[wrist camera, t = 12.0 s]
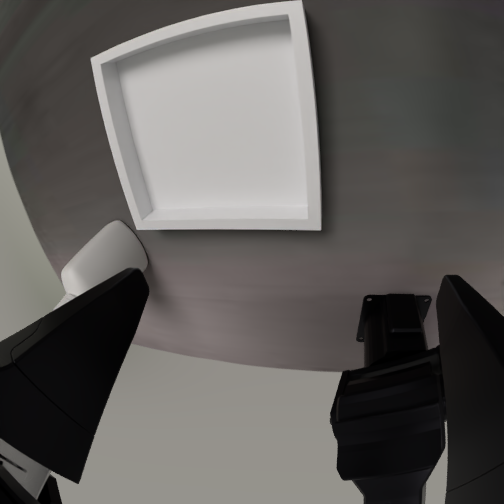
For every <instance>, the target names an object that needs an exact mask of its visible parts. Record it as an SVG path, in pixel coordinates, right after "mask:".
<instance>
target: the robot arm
mask: <svg viewBox="0 0 504 504" xmlns="http://www.w3.org/2000/svg"><path fill="white" fill-rule="evenodd" d="M148 296H149V286H148V284H147V282H146V279H145V277H144V275H143V273H142V271H141V270H140V269H139V268H133V267H129V268H126V269H125V270H123V271H121V272H119V273H117V274H116V275H114V276H112V277H110V278H109V279H107V280H105V281H103V282H101V283H100V284H98V285H96V286H94V287H93V288H91V289H89V290H87V291H86V292H84V293H82V294H81V295H79V296H77V297H75V298H74V299H72V300H70V301H69V302H67V303H65V304H64V305H62V306H60V307H59V308H57V309H55V310H54V311H52V312H50V313H49V314H47V315H45V316H44V317H42V318H40V319H39V320H37V321H36V322H34V323H32V324H31V325H29V326H27V327H26V328H24V329H22V330H20V331H19V332H17V333H15V334H13V335H12V336H10V337H8V338H6V339H4V340H3V341H1V342H0V504H62V502H61V498H60V494H59V490H58V486H57V481H56V478H54V477H53V476H52V475H51V474H50V473H51V471H53V472H55V473H57V474H59V475H61V476H63V477H65V478H67V479H69V480H71V481H73V482H75V483H77V484H79V481H80V479H81V476H82V473H83V470H84V467H85V463H86V460H87V457H88V454H89V451H90V448H91V445H92V442H93V439H94V435H95V433H96V430H97V427H98V425H99V422H100V419H101V416H102V414H103V411H104V408H105V406H106V403H107V400H108V398H109V395H110V393H111V390H112V387H113V385H114V383H115V380H116V378H117V375H118V373H119V371H120V368H121V366H122V363H123V361H124V359H125V356H126V354H127V351H128V349H129V347H130V345H131V342H132V340H133V338H134V335H135V333H136V330H137V327H138V325H139V322H140V319H141V316H142V313H143V310H144V307H145V304H146V301H147V299H148ZM368 298H371V299H372V300H371V301H367V299H368ZM425 299H429V300H428V301H427V302H425V301H424V300H425ZM431 301H432V298H431V297H430V296H415V295H414V294H387V295H367V296H365V297H364V300H363V305H362V311H361V317H360V322H359V327H358V332H357V337H356V340H357V341H358V342H364V368H360V369H356V370H351V371H350V370H346V371H343V372H342V376H341V379H340V382H339V385H338V389H337V392H336V396H335V399H334V403H333V406H332V409H331V412H330V416H331V418H330V424H331V425H332V429H333V433H334V436H335V438H336V439H337V443H338V454H337V471H338V473H339V475H340V477H341V478H342V479H343V480H352V481H353V482H354V484H355V485H356V486H357V488H358V489H359V490H360V492H361V493H362V494H363V496H364V504H425V496H426V481H427V480H428V478H429V476H430V475H431V473H432V471H433V469H434V468H435V466H436V464H437V462H438V460H439V459H440V457H441V455H442V453H443V451H444V449H445V443H446V442H445V423H444V422H446V421H447V433H448V469H447V488H446V491H447V492H446V498H445V504H504V317H503V316H502V315H501V314H500V313H499V312H498V311H497V310H496V309H495V308H494V307H493V306H492V305H491V304H490V303H489V302H488V301H487V300H486V299H485V298H483V297H482V296H481V295H480V294H479V293H478V292H477V291H476V290H475V289H474V288H472V287H471V286H470V285H469V284H468V283H467V282H466V281H464V280H463V279H462V278H461V277H460V276H458V275H445V276H444V278H443V280H442V283H441V286H440V290H439V293H438V296H437V300H436V309H437V318H438V330H439V344H440V345H438V346H437V347H436V348H433V349H430V350H428V346H427V341H426V336H425V330H424V325H423V322H424V319H425V317H426V314H427V312H428V309H429V306H430V304H431ZM361 337H362V338H363V339H359V338H361Z"/></svg>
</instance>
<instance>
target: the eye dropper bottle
mask: <svg viewBox="0 0 504 504" xmlns="http://www.w3.org/2000/svg"><path fill="white" fill-rule="evenodd" d="M147 265H148V260H147V256H146V253H145V251H144V248H143V246H142V245H141V243H140V241H139V240H138V238H137V237H136V235H135V234H134V233H133V232H132V231H131V229H130V228H129V227H128V226H127V225H126V224H124V223H123V222H122V221H120V220H117V221H113V222H111V223H109V224H107V225H106V226H105V227H104V228H103V229H102V230H101V231H99V232H98V233H97V234H96V235H95V236H94V237H93V238H92V239H91V240H90V241H89V242H88V243H87V244H86V245H85V246H84V247H83V248H82V249H81V250H80V251H79V252H78V253H77V254H76V255H75V256H74V257H73V258H72V259H71V260H70V261H69V262H68V263H67V265H66V266H65V267H64V268H63V270H62V273H61V277H62V282H63V285H64V288H65V291H66V293H67V294H66V295H65V296H64V297H63V298H62V300H61V301H60V302H59V303H58V305H57V306H56V307H55V308H54V309H53V311H54V310H55V309H57V308H59V307H60V306H62V305H64V304H65V303H67V302H69V301H70V300H72V299H74V298H75V297H77V296H79V295H81V294H82V293H84V292H86V291H87V290H89V289H91V288H93V287H94V286H96V285H98V284H100V283H101V282H103V281H105V280H107V279H109V278H110V277H112V276H114V275H116V274H117V273H119V272H121V271H123V270H125V269H126V268H129V267H133V268H139V269H140V270H141V271H142V273H143V271H144V270H145V269H146V267H147Z"/></svg>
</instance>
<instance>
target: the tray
mask: <svg viewBox="0 0 504 504" xmlns="http://www.w3.org/2000/svg"><path fill="white" fill-rule="evenodd" d="M91 63H92V69H93V74H94V79H95V84H96V89H97V94H98V98H99V103H100V107H101V112H102V116H103V120H104V124H105V128H106V132H107V136H108V140H109V143H110V147H111V151H112V154H113V158H114V161H115V165H116V168H117V171H118V175H119V178H120V181H121V184H122V187H123V191H124V194H125V197H126V200H127V203H128V206H129V209H130V212H131V215H132V217H133V220H134V223H135V226H136V229H137V230H166V229H262V230H321V224H322V186H321V162H320V143H319V128H318V115H317V103H316V92H315V82H314V73H313V64H312V56H311V48H310V40H309V33H308V27H307V20H306V14H305V8H304V6H303V3H302V0H300V1H287V2H277V3H268V4H261V5H254V6H248V7H242V8H236V9H231V10H226V11H222V12H217V13H213V14H209V15H205V16H201V17H197V18H193V19H190V20H186V21H183V22H179V23H176V24H173V25H170V26H167V27H164V28H161V29H158V30H155V31H152V32H150V33H147V34H144V35H142V36H139V37H137V38H134V39H132V40H129V41H127V42H125V43H122V44H120V45H118V46H115V47H113V48H111V49H109V50H107V51H105V52H103V53H101V54H98V55H96V56H94V57H92V58H91Z"/></svg>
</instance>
